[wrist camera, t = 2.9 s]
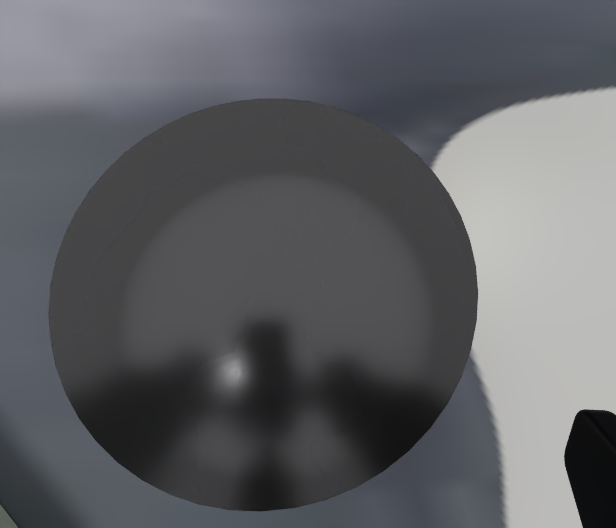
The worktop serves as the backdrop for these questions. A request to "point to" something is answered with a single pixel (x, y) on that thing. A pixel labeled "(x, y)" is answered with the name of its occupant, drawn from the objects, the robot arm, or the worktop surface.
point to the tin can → (263, 304)
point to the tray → (6, 520)
